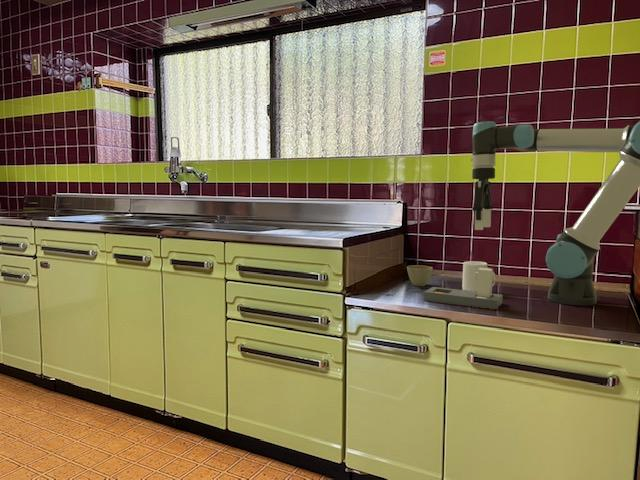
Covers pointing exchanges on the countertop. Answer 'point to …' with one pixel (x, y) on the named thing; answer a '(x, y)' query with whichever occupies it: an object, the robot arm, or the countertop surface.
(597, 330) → the countertop surface
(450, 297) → the panel
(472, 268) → the mug
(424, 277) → the flower pot
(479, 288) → the plug
